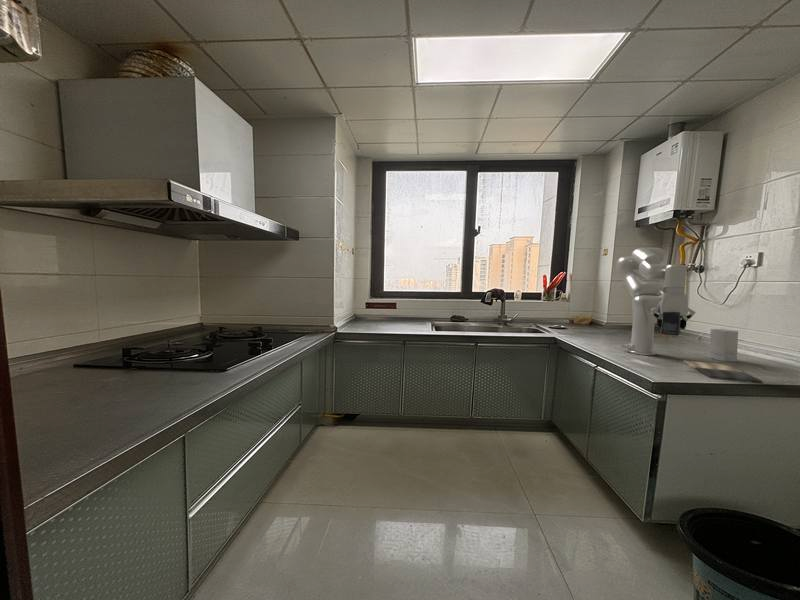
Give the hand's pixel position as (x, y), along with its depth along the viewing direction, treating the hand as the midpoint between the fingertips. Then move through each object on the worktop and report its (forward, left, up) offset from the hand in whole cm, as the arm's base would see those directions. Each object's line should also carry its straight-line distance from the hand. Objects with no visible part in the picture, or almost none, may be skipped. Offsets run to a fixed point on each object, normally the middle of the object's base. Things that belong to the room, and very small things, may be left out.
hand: (670, 327), depth 150 cm
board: (+17, -4, -18) cm, 25 cm away
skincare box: (+30, +24, -18) cm, 42 cm away
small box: (0, 0, -3) cm, 3 cm away
